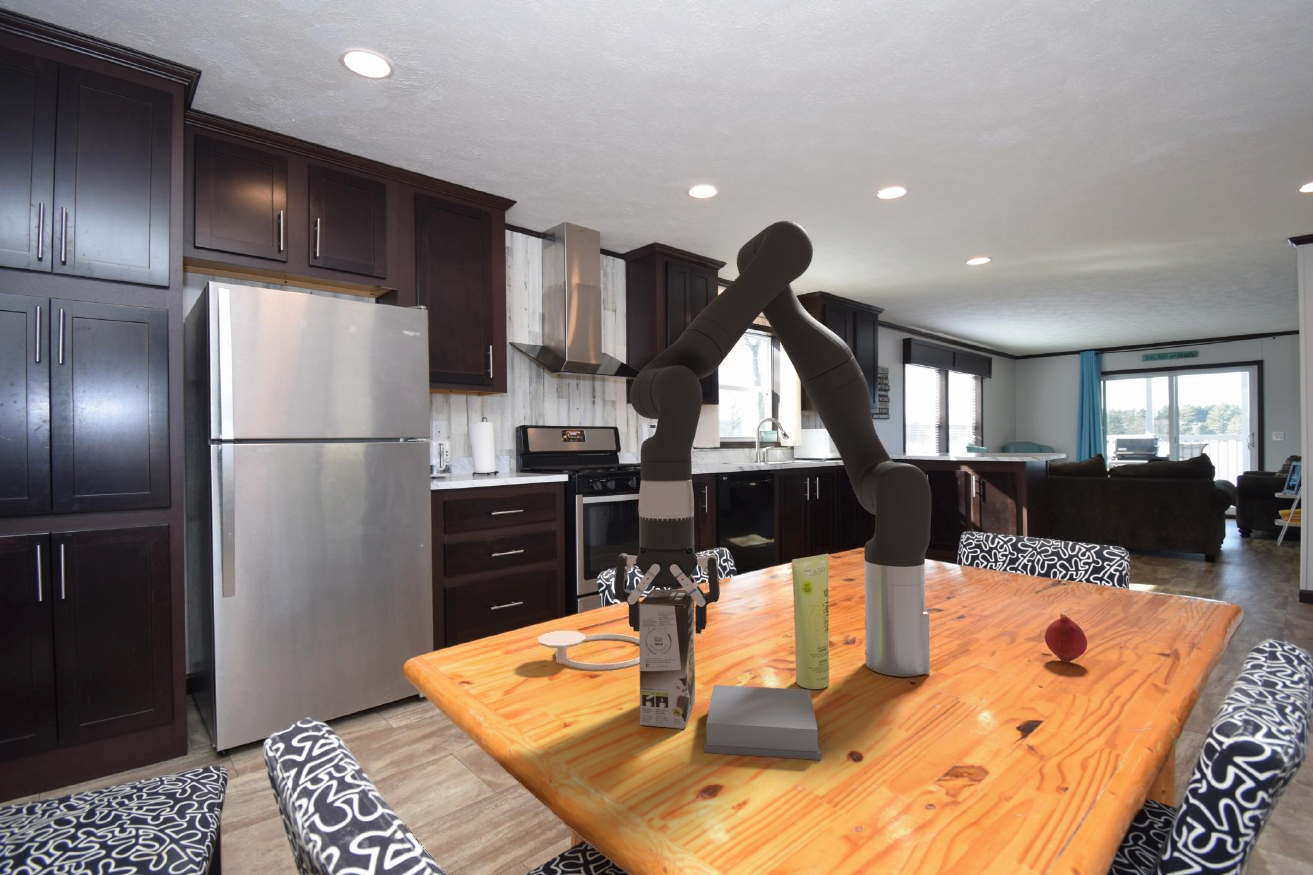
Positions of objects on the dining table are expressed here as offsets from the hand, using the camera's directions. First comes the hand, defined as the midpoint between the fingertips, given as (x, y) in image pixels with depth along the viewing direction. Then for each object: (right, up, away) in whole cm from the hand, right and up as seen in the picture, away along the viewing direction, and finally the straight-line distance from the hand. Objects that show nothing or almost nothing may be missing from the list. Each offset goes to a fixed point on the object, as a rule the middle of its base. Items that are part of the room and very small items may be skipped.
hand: (667, 631), depth 88 cm
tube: (+22, -11, +10) cm, 27 cm away
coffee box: (0, -12, 0) cm, 12 cm away
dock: (+12, -11, -6) cm, 17 cm away
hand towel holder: (-12, -12, +24) cm, 29 cm away
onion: (+66, -11, +18) cm, 69 cm away
